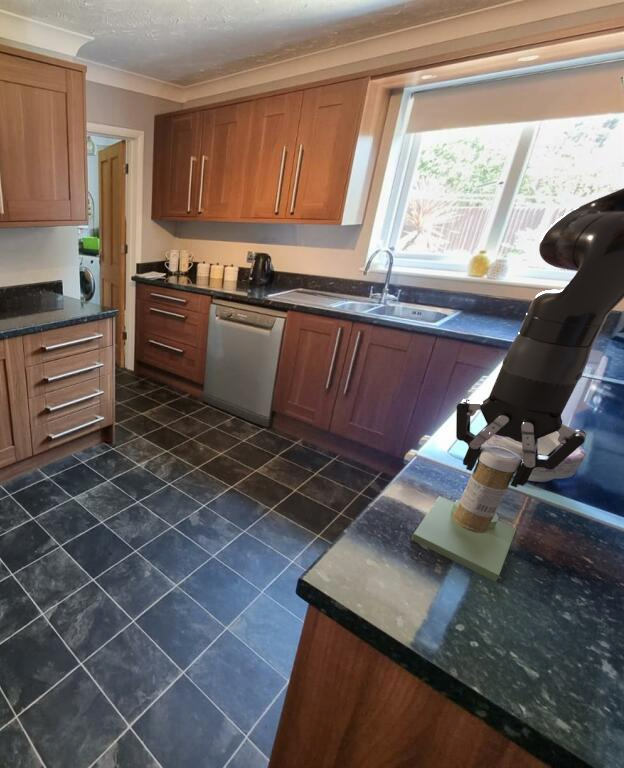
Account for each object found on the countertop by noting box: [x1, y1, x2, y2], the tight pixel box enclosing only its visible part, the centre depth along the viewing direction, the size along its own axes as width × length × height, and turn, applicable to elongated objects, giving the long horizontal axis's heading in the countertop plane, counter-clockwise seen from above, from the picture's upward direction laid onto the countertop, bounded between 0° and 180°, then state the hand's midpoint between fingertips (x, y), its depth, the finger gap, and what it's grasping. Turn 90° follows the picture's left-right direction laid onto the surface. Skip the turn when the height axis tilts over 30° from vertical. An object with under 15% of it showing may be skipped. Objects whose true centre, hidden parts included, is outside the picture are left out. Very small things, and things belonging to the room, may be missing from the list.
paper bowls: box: [482, 431, 587, 483], centre depth 88 cm, size 15×15×8 cm
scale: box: [411, 495, 517, 582], centre depth 70 cm, size 16×11×3 cm
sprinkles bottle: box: [453, 446, 522, 533], centre depth 64 cm, size 5×5×14 cm
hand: (491, 475), depth 63 cm, fingers closed on sprinkles bottle, 4 cm apart
